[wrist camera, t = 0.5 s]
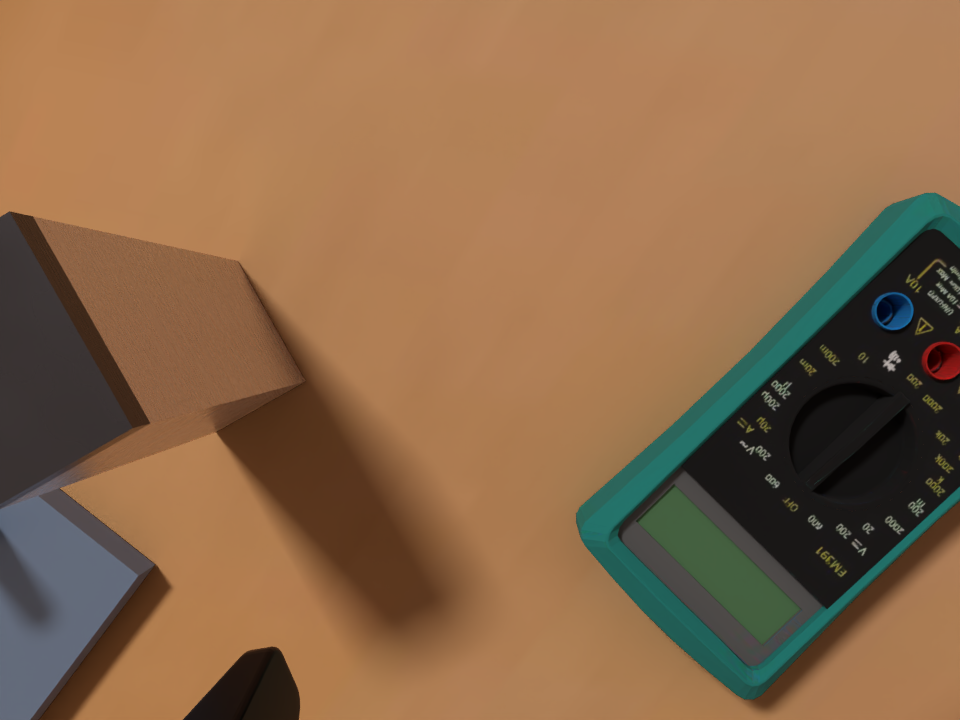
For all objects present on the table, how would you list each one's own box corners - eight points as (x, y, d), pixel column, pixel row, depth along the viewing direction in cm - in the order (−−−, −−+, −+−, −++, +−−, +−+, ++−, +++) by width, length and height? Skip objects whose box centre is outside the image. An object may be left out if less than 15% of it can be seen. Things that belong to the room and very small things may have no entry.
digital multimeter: (1068, 351, 21) (1155, 355, 18) (722, 673, 23) (752, 725, 20) (899, 186, 22) (959, 164, 19) (563, 515, 23) (569, 544, 20)
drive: (305, 381, 22) (132, 428, 12) (215, 432, 23) (-24, 517, 13) (237, 260, 22) (9, 211, 12) (148, 313, 23) (-146, 305, 13)
